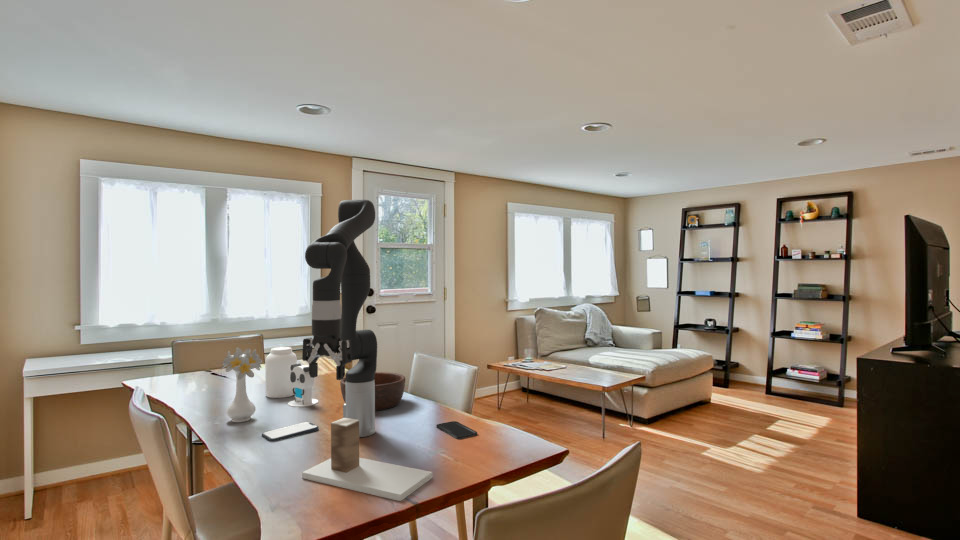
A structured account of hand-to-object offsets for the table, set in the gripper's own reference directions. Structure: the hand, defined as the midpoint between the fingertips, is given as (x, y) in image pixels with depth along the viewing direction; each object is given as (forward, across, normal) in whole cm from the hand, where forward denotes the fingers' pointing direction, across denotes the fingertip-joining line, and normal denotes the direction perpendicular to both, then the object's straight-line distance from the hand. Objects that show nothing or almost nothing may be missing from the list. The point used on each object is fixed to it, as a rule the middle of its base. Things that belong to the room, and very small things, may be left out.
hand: (326, 378), depth 133 cm
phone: (+24, -19, -41) cm, 51 cm away
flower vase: (+24, +56, -24) cm, 66 cm away
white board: (+24, -13, +1) cm, 28 cm away
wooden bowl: (+24, +25, -58) cm, 68 cm away
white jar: (+24, +70, -57) cm, 94 cm away
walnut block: (+22, -6, +1) cm, 23 cm away
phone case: (+25, +30, -20) cm, 44 cm away
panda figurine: (+24, +52, -50) cm, 77 cm away
